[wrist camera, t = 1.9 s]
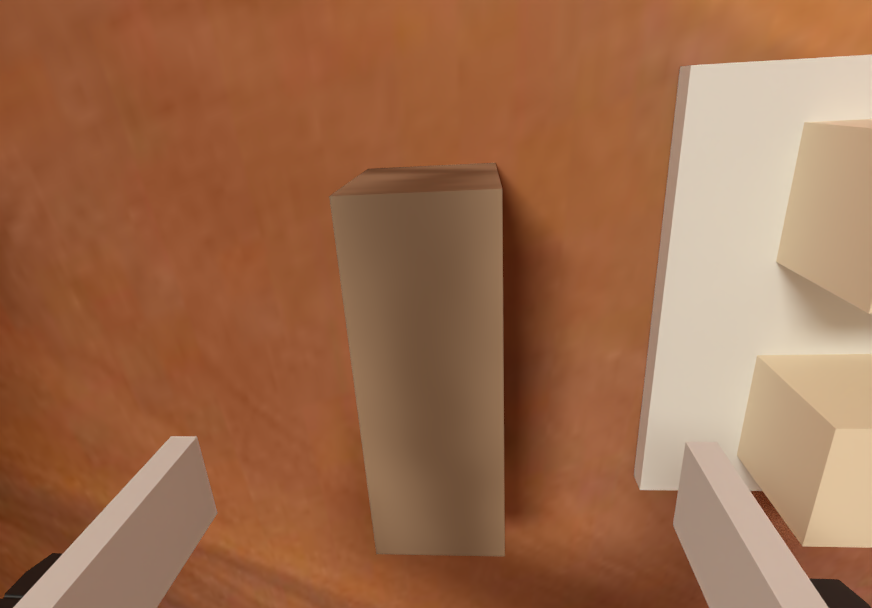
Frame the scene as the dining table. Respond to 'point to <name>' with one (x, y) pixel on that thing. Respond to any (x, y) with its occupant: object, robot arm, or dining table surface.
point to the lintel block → (427, 352)
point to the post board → (769, 290)
